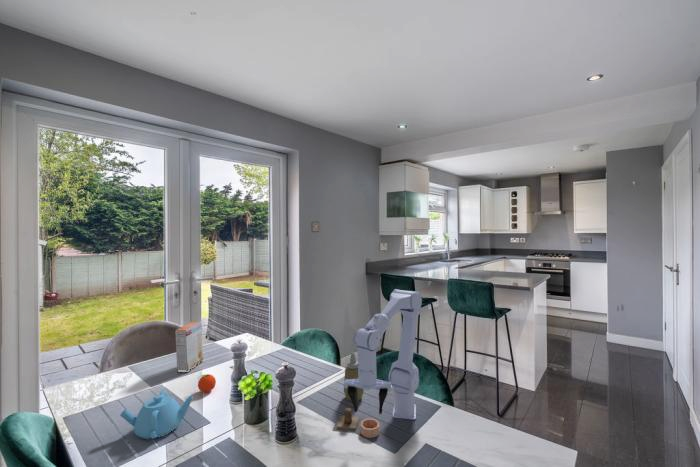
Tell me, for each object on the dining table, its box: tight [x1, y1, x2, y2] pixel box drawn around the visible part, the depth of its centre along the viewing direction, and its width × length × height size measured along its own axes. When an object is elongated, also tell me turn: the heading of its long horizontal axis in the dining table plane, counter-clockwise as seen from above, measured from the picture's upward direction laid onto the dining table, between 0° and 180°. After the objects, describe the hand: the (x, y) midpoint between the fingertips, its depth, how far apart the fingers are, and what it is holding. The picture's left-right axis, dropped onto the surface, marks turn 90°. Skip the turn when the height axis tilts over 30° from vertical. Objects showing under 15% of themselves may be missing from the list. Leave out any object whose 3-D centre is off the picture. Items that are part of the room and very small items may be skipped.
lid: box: [337, 407, 359, 431], centre depth 112 cm, size 6×6×5 cm
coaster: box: [331, 415, 364, 434], centre depth 112 cm, size 9×9×1 cm
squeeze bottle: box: [343, 352, 365, 402], centre depth 129 cm, size 8×8×18 cm
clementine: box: [197, 374, 217, 393], centre depth 139 cm, size 8×7×7 cm
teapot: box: [119, 390, 194, 440], centre depth 113 cm, size 15×17×11 cm
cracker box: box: [174, 321, 204, 371], centre depth 164 cm, size 14×6×21 cm, turn 175°
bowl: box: [359, 417, 381, 439], centre depth 108 cm, size 6×6×3 cm
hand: (368, 411), depth 103 cm, fingers open, 7 cm apart
